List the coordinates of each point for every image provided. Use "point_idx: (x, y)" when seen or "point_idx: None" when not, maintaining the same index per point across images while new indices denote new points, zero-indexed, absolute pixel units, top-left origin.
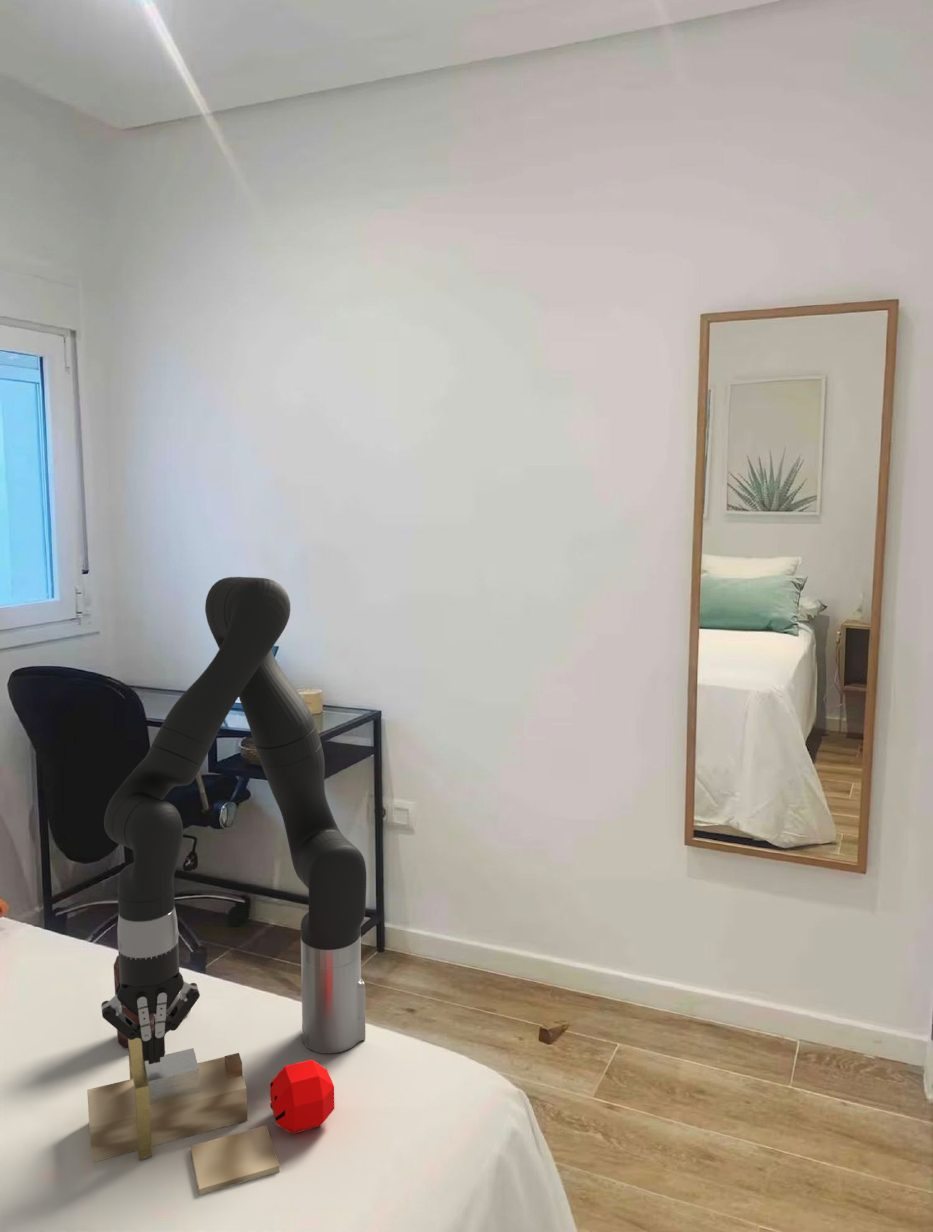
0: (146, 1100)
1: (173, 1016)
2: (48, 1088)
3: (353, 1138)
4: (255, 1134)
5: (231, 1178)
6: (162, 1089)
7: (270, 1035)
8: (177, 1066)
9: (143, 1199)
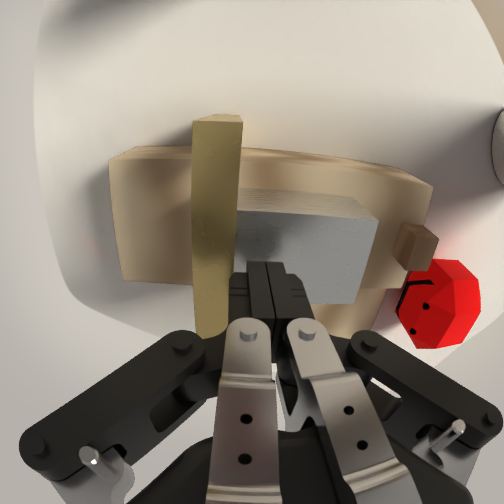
0: None
1: (369, 376)
2: (83, 32)
3: None
4: (369, 298)
5: None
6: None
7: (469, 82)
8: (316, 278)
9: None
